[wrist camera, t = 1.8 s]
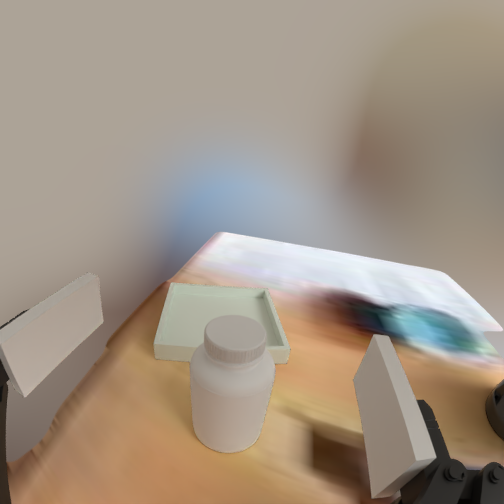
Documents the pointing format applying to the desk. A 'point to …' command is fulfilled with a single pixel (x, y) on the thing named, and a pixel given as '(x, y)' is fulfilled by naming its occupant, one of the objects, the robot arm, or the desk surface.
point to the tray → (206, 309)
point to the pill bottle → (231, 383)
